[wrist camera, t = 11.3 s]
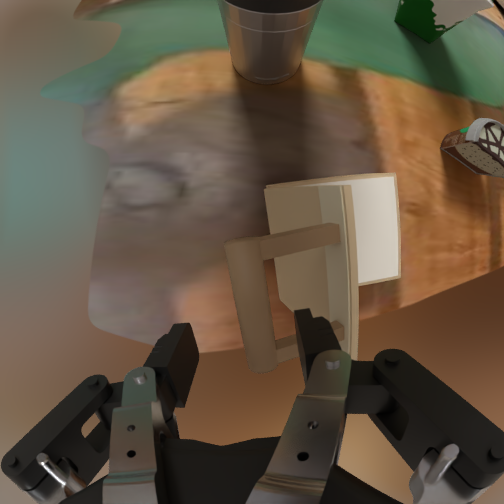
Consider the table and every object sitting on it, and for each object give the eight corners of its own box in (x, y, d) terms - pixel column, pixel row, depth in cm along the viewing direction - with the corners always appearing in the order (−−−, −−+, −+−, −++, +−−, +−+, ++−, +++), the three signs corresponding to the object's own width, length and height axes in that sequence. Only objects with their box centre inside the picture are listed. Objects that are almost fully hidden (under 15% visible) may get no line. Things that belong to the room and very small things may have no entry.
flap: (268, 188, 26) (198, 200, 25) (350, 184, 13) (220, 205, 12) (284, 298, 29) (221, 314, 28) (356, 366, 16) (259, 403, 15)
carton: (265, 185, 34) (267, 186, 26) (368, 173, 33) (396, 172, 26) (278, 274, 37) (283, 299, 29) (375, 259, 36) (400, 278, 28)
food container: (486, 146, 31) (525, 145, 21) (481, 178, 32) (521, 182, 23) (439, 110, 30) (478, 98, 20) (433, 144, 32) (475, 138, 22)
